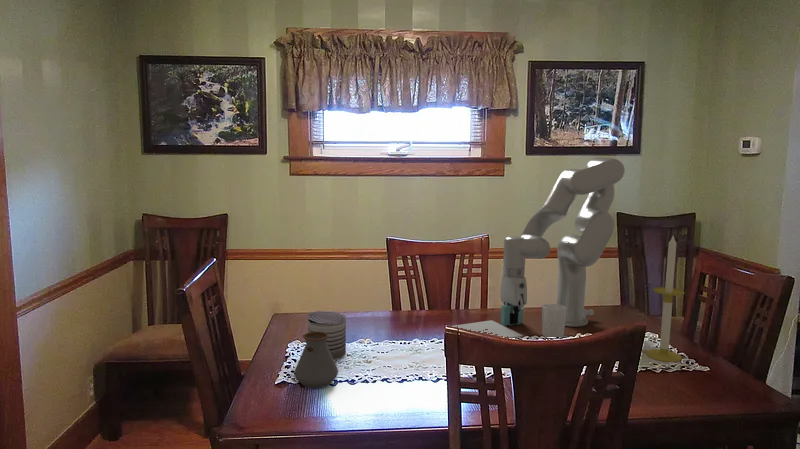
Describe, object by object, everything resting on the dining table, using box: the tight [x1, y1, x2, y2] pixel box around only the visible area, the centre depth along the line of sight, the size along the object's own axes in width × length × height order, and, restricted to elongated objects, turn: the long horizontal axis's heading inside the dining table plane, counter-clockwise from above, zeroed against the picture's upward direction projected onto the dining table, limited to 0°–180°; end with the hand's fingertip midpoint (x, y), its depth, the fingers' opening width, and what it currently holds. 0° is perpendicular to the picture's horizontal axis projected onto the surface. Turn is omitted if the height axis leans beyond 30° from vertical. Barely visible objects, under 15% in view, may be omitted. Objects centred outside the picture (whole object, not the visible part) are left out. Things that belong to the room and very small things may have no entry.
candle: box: [645, 235, 685, 363], centre depth 172 cm, size 10×10×38 cm
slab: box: [499, 304, 524, 327], centre depth 204 cm, size 8×2×7 cm, turn 115°
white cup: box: [541, 303, 567, 340], centre depth 191 cm, size 8×8×10 cm
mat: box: [451, 319, 524, 339], centre depth 194 cm, size 19×18×1 cm
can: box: [307, 310, 347, 361], centre depth 172 cm, size 11×11×12 cm
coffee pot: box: [293, 332, 339, 389], centre depth 147 cm, size 21×12×15 cm, turn 1°
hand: (511, 322), depth 204 cm, fingers closed on slab, 1 cm apart
